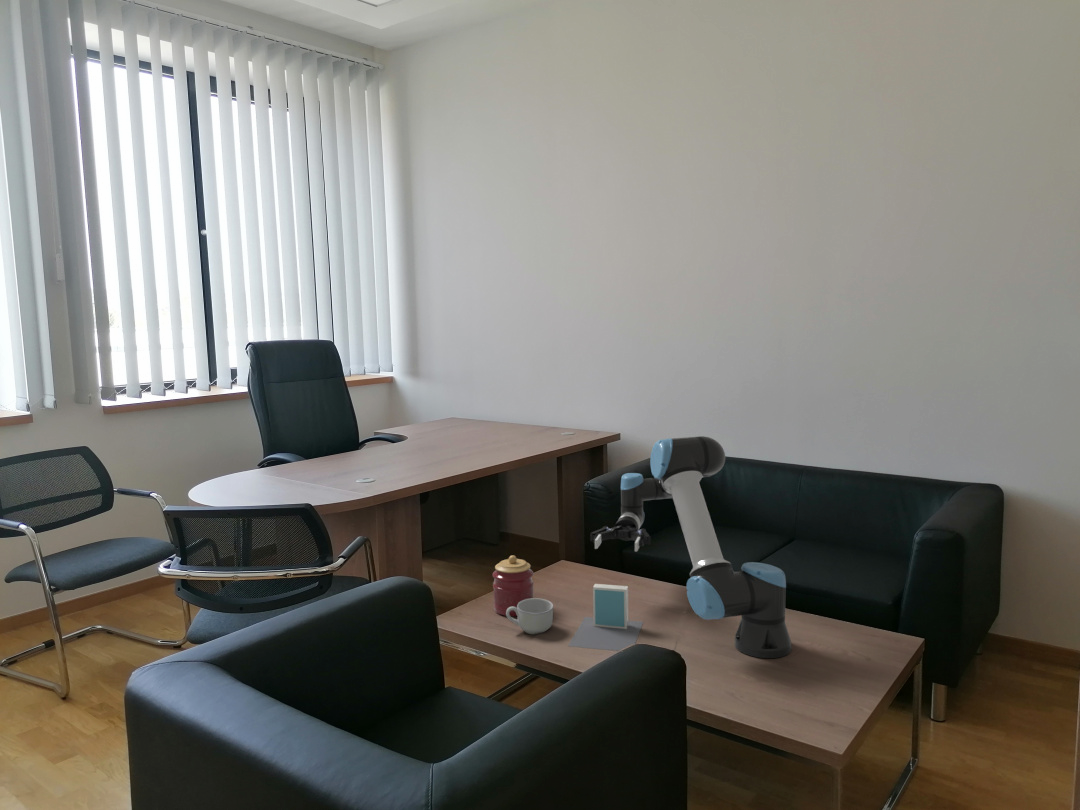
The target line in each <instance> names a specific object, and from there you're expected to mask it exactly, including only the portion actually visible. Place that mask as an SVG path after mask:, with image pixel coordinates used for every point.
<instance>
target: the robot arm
mask: <svg viewBox="0 0 1080 810" xmlns="http://www.w3.org/2000/svg"><path fill="white" fill-rule="evenodd" d="M649 463H650V470H651V475H652V477H649V478H644V476H643V474H641V473H639V472H638V473H637V472H627V473H624V474H622V476H621V480H620V517H619V518H617V519H618V520H617V521H616V522H615V524H614V526H613V527H611V528H609V527H608V526H607V525H605V526H602V527H601V528H600V529H597V530H594V531H592V532H590V541H591V542H593V544H594V550H597V549H598V548H599V547H600V546H601V544H602V542H604V541H607V540H617V539H619V540H622V541H626V542H627V541H634V552H638V551H639V549H640V547H643V546H645V544H646V545H648V546H649V545H651V536H650V534H649V533H648V532H647V531H646V528H641V527H642V526H643V524H644V521H645V512H644V501H652V500H665V499H670V500H671V499H672V501H673V503H674V506H675V511H676V513H677V516H678V522H679V524H680V527H681V530H682V533H683V537H684V540H685V543H686V547H687V550H688V554H689V557H690V560H691V563H692V569H691V571H690V572H689V577H690V578H688V579H687V581H686V590H687V591H686V596H687V599H688V602H689V603H688V604H690V607H691V609H692V610H693V611H694V613H695V615H697V616H699V618H701V619H702V620H722V619H725V618H733V617H738V616H741V618H740V621H739V624H738V627H737V630H736V632H735V635H734V647H735V648H736V649H737V650H738V651H739V652H741V653H742V654H745V655H748V656H751V657H755V658H760V659H777V658H778V659H779V658H782V657H786V656H788V655H790V653H791V652H792V640H791V637H790V634H789V631H788V627H787V625H786V591H787V590H786V588H787V581H786V574H785V572H784V571H783V570H782V569H781V568H779V567H777V566H774V565H772V564H769V563H762V562H758V561H757V562H755V561H754V562H753V561H751V562H744V563H743V564H742V565H741V567H740V571H739V570H738V571H734V570H733V569H734V568H733V566H732V563H731V562H730V561H728V560H726V559H725V558H724V556H723V553H722V550H721V547H720V542H719V540H718V538H717V534H716V532H715V528H714V525H713V522H712V519H711V515H710V512H709V510H708V507H707V506H708V505H707V502H706V500H705V496H704V494H703V490H702V488H701V485H700V482H701V480H702V478H709V477H712V476H714V475H716V474H717V473H718V472H720V471H721V470H722V469H723V467H724V465H725V463H726V452H725V450H724V448H723V446H722V445H721V444H720V443H719V442H718V441H717V440H715V439H714V438H712V437H709V436H689V437H676V438H675V437H674V438H671V437H669V438H664V439H663V438H662V439H659V440H657V441H656V442H655V443H654V444H653V447H652V449H651V453H650V462H649ZM640 528H641V529H640Z"/></svg>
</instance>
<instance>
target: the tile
mask: <svg viewBox="0 0 1080 810" xmlns="http://www.w3.org/2000/svg"><path fill="white" fill-rule="evenodd" d="M592 610H593V611H592V614H593V616H592V617H593V626H599V627H610V628H621V629H627V627H628V621H629V586H628V585H615V584H603V583H601V584H600V583H594V585H593V586H592Z"/></svg>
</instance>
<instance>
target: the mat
mask: <svg viewBox="0 0 1080 810" xmlns="http://www.w3.org/2000/svg"><path fill="white" fill-rule="evenodd" d="M643 624H644V621H638V620H628V627H627V629H621V628H610V627H599V626H593V616H591V617H590V616H584V617H583V619H582V621H581V622H580V625H579V627H577V630H576V631H575V633H574V634H573V636H572V639H570V641H569V643H568V645H567V647H575V648H582V649H584V648H585V649H593V650H605V651H615V652H620V651H619V650H621V649H623V648H625V647H627V646H629V645H631V644H635V645H636V642H637V640H638V637H639V635H640V632H641V629H642V626H643Z"/></svg>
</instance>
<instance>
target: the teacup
mask: <svg viewBox="0 0 1080 810" xmlns="http://www.w3.org/2000/svg"><path fill="white" fill-rule="evenodd" d="M511 610H514V611H515V612H516V615H517V616H516V617H517V619H516V618H514V617H513V616H510V615H509V612H510V611H511ZM553 613H554V604H553V602H551V601H550V600H548V599H545V598H538V597H537V598H536V597H533V598H531V599H525V600H522V601H520V602H519V603H518V605H517V608H516V607H513V606H512V607H509V608H508V609H507V611H506V616H505V617H506V618H507V619H508V620H509V621H511V622H512V623H514V624H515V625H516V627H517V626H518V627H519V628H520V629H521V630H522V631H524V632H525V633H526V634H529V635H537V634H542V633H545V632H546V631H547V630H549V629H550V628H551V627H552V624H553V618H554V617H553V616H554V614H553Z"/></svg>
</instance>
